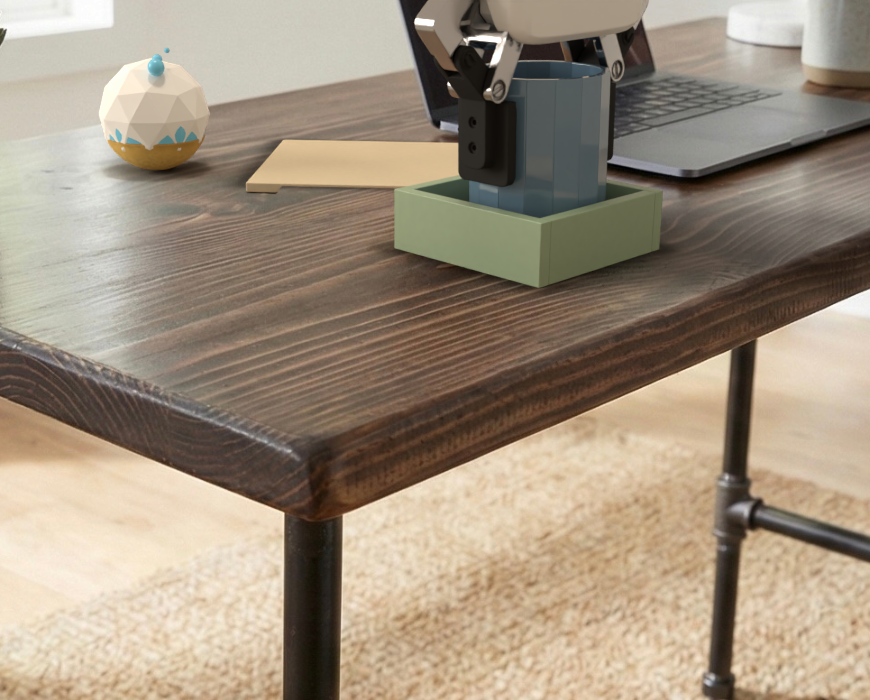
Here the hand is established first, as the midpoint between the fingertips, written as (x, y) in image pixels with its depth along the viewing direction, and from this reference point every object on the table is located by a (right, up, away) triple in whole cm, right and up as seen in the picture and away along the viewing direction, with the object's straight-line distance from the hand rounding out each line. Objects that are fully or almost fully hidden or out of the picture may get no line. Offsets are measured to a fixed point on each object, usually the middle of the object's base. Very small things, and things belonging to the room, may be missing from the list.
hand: (537, 166), depth 65 cm
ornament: (-23, +3, +21) cm, 31 cm away
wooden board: (-9, +3, +21) cm, 23 cm away
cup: (0, -4, +1) cm, 4 cm away
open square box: (0, -4, +2) cm, 5 cm away
